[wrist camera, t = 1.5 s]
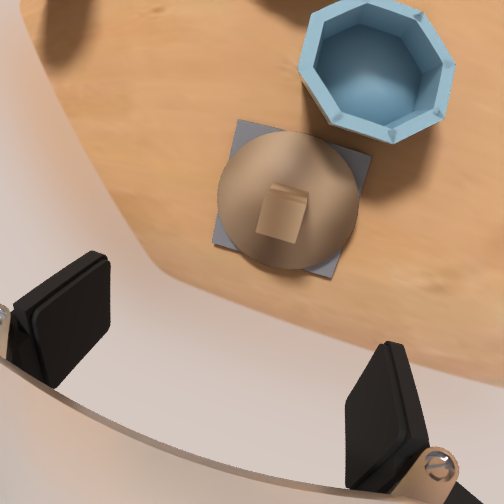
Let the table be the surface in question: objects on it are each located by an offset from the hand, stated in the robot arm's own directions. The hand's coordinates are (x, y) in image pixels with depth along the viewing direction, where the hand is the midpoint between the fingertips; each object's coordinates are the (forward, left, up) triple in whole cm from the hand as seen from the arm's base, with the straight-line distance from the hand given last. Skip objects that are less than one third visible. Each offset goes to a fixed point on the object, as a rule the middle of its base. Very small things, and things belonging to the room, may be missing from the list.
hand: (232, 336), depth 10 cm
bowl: (-4, -13, -21) cm, 25 cm away
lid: (0, 0, -20) cm, 20 cm away
